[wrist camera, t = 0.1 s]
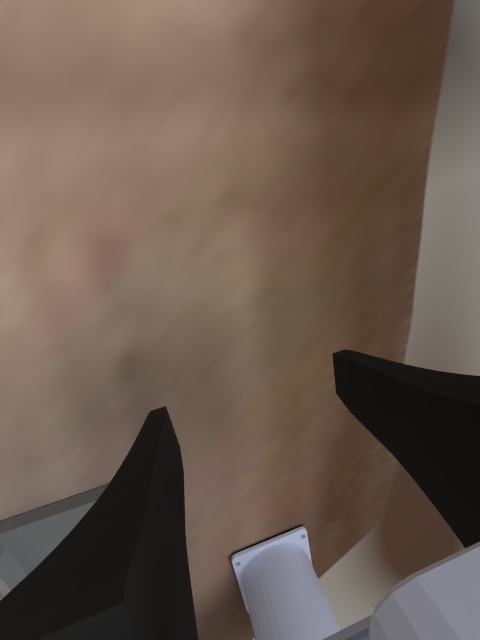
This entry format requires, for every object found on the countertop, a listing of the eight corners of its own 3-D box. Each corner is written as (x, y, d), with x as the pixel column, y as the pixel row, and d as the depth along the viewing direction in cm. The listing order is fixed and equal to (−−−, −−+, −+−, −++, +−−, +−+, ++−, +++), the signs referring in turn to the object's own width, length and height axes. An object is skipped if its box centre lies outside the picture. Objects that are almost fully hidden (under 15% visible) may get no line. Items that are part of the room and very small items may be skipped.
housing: (161, 588, 28) (161, 625, 26) (-37, 670, 25) (-59, 721, 23) (112, 482, 23) (106, 515, 21) (-141, 569, 20) (-185, 619, 18)
